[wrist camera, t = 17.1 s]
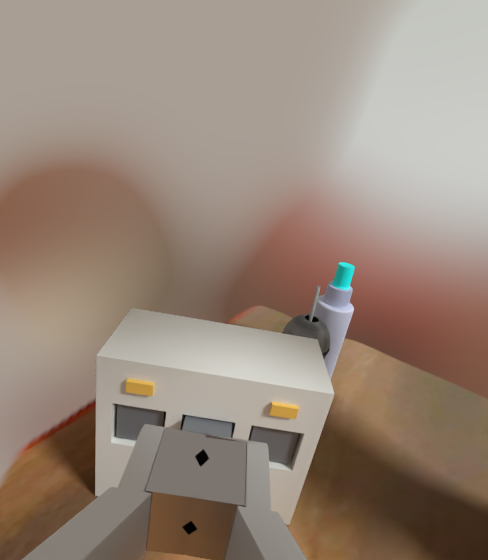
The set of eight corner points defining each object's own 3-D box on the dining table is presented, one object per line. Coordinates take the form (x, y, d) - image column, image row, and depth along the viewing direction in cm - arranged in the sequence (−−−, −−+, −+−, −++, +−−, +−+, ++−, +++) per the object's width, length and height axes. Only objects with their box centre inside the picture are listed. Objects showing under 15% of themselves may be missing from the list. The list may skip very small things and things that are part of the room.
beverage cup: (265, 414, 51) (295, 295, 43) (265, 383, 58) (292, 275, 50) (313, 423, 51) (351, 306, 43) (308, 391, 58) (340, 284, 50)
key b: (286, 434, 37) (295, 403, 36) (289, 463, 34) (299, 431, 32) (247, 427, 37) (254, 396, 36) (246, 457, 34) (254, 423, 32)
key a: (169, 415, 37) (173, 383, 35) (160, 443, 34) (164, 409, 32) (129, 409, 37) (131, 376, 35) (116, 436, 33) (117, 402, 32)
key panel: (283, 454, 45) (317, 339, 38) (289, 528, 36) (335, 397, 30) (125, 429, 44) (131, 307, 38) (93, 499, 36) (94, 358, 29)
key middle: (226, 440, 35) (233, 407, 34) (223, 472, 32) (230, 437, 30) (185, 433, 35) (189, 400, 34) (177, 465, 32) (181, 430, 30)
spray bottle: (297, 364, 64) (327, 255, 56) (329, 374, 63) (365, 264, 55) (293, 384, 59) (327, 266, 50) (328, 394, 58) (368, 276, 49)
